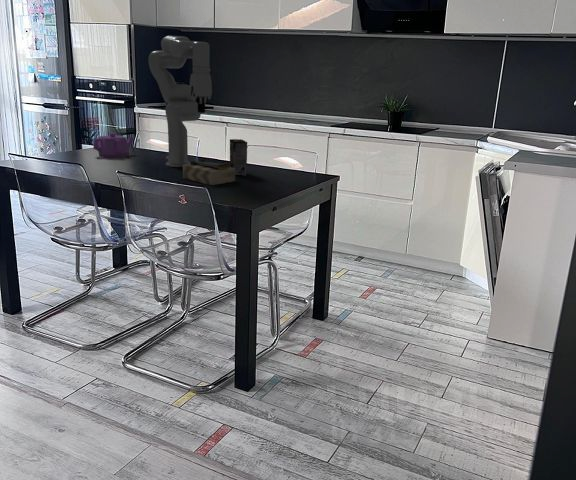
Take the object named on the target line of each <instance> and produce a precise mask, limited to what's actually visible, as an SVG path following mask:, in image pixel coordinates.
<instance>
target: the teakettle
mask: <svg viewBox="0 0 576 480" xmlns="http://www.w3.org/2000/svg"><path fill="white" fill-rule="evenodd" d="M133 140H134V137H128V138H127V137H126V136H123V135H119V134H118V135H116V133H115V132H110V133H109V135H100V136H98V138H93V150H96V151H98V155H99V156H100V157H102V158H105V159H112V158H113V159H115V158H125V157H126V158H128V157H129V155H130V147H131V145H132V143H133V142H134V141H133Z"/></svg>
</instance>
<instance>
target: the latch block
mask: <svg viewBox="0 0 576 480" xmlns="http://www.w3.org/2000/svg"><path fill="white" fill-rule="evenodd" d="M200 161H203V162H206V161H205V159H200ZM189 162H190V164H187V165H183V167H182V178H183V179H185V180H190V181H193V182H197V183H202V184H205V185H208V186H216V185H220V184H226V183H227V182H228V183H233V181H234V182H236V176H235V168H232V167H230V166H228V165H229V164H228V163H219V164H218V165H217V167H211V166H203V165H196V164H195V162H196V161H194V160H190V161H189Z"/></svg>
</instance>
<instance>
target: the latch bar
mask: <svg viewBox="0 0 576 480" xmlns="http://www.w3.org/2000/svg"><path fill="white" fill-rule="evenodd" d="M195 164H196V165H203V166H211V167H217V165H218V164H220V163H217V162H211V161H205V162H203V161H195Z"/></svg>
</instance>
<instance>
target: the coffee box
mask: <svg viewBox="0 0 576 480" xmlns="http://www.w3.org/2000/svg"><path fill="white" fill-rule="evenodd" d="M229 167H232V168H235V175H242V176H247V172H248V141H247V140H244V139H238V138H237V139H236V138H233V139H231V138H230V139H229Z"/></svg>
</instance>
